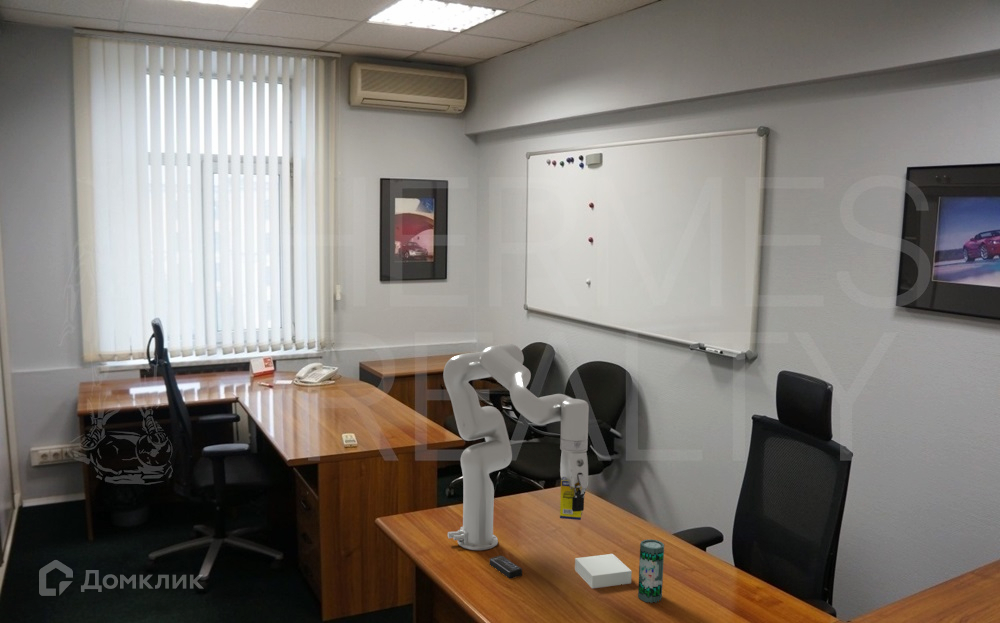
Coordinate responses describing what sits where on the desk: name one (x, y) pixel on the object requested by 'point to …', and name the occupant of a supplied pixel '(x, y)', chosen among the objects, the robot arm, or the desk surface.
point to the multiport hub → (506, 567)
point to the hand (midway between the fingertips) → (572, 505)
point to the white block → (603, 570)
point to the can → (651, 570)
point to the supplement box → (568, 501)
